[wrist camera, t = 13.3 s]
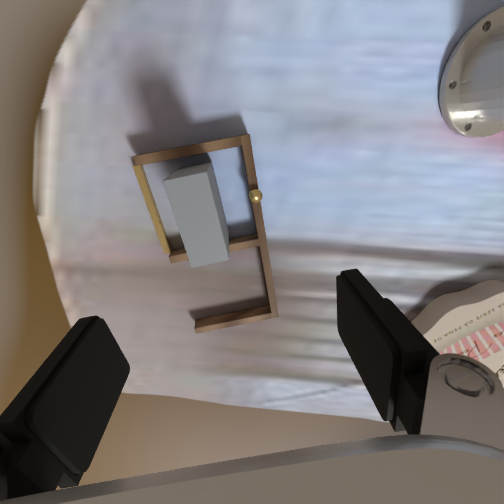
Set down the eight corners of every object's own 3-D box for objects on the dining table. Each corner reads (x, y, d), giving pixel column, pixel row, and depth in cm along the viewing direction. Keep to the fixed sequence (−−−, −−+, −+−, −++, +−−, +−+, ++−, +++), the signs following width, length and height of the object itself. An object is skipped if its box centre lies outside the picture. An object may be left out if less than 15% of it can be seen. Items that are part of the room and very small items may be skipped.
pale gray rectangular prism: (211, 161, 31) (206, 171, 22) (228, 229, 34) (229, 259, 26) (178, 168, 31) (160, 181, 22) (198, 236, 34) (190, 268, 26)
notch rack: (250, 133, 30) (252, 133, 27) (278, 308, 41) (281, 319, 39) (131, 156, 29) (123, 158, 27) (192, 325, 41) (190, 337, 38)
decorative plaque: (547, 256, 38) (566, 364, 49) (522, 247, 41) (545, 349, 53) (367, 356, 43) (423, 431, 55) (357, 340, 46) (412, 414, 58)
